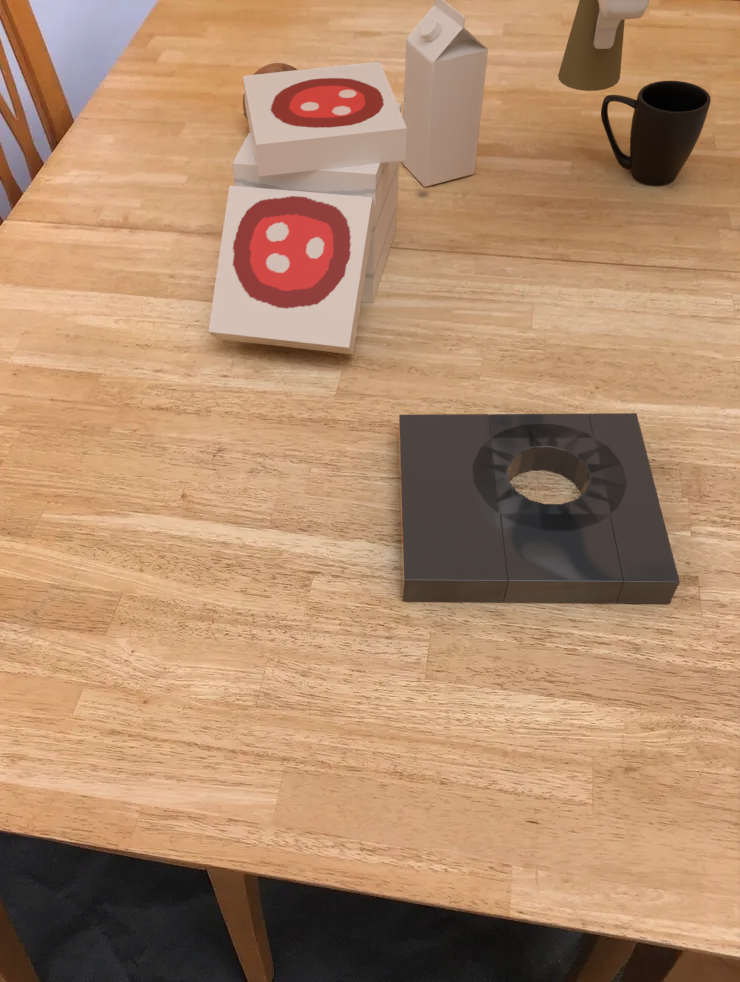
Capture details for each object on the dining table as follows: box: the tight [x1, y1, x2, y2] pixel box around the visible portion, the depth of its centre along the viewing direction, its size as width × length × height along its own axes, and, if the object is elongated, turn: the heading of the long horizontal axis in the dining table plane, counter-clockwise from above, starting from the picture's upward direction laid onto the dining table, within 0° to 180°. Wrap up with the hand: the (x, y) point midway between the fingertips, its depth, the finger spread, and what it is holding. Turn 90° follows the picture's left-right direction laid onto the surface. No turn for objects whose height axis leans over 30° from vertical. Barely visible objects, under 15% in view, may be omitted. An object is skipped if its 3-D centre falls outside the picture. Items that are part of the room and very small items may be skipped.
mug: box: [600, 80, 712, 187], centre depth 113 cm, size 8×12×10 cm
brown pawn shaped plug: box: [557, 0, 626, 92], centre depth 89 cm, size 6×6×11 cm
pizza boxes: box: [207, 60, 407, 355], centre depth 98 cm, size 19×30×18 cm, turn 166°
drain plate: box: [397, 412, 681, 605], centre depth 82 cm, size 22×20×3 cm
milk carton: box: [400, 0, 489, 188], centre depth 112 cm, size 7×7×19 cm
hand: (597, 32), depth 90 cm, fingers closed on brown pawn shaped plug, 4 cm apart
